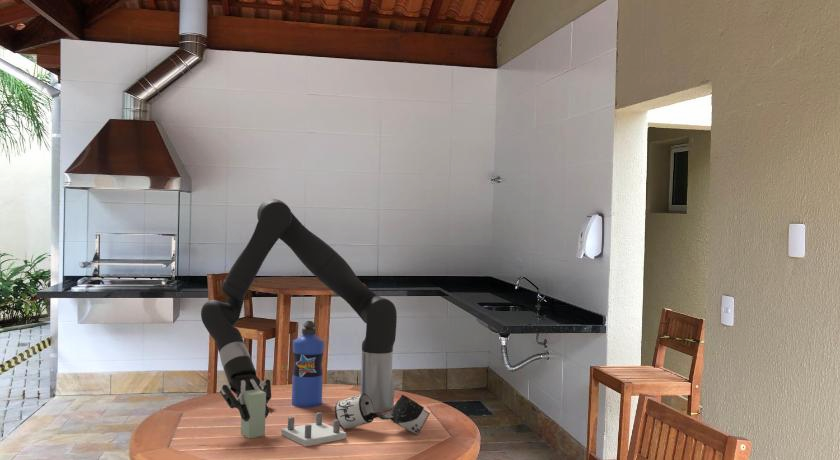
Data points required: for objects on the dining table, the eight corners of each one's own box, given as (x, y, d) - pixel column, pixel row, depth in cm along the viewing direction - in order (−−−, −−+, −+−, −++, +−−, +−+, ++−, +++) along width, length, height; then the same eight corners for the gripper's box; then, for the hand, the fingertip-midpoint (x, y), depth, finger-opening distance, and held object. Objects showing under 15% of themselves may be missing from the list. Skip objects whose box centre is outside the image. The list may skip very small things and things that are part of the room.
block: (256, 431, 192) (257, 389, 192) (264, 435, 188) (266, 392, 188) (240, 433, 189) (241, 391, 189) (248, 438, 185) (249, 394, 185)
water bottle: (319, 408, 217) (322, 323, 217) (288, 407, 217) (291, 322, 217) (324, 400, 226) (326, 319, 226) (294, 399, 227) (296, 318, 226)
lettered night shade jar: (332, 435, 191) (333, 397, 191) (337, 424, 201) (338, 388, 201) (429, 438, 190) (430, 400, 190) (429, 428, 200) (430, 391, 200)
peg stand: (320, 427, 197) (321, 410, 197) (345, 438, 188) (346, 421, 188) (281, 434, 189) (281, 417, 189) (305, 446, 180) (305, 428, 180)
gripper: (216, 357, 190) (235, 414, 180) (266, 352, 199) (287, 406, 190) (207, 374, 194) (225, 430, 185) (256, 368, 203) (276, 422, 194)
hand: (256, 417), depth 187 cm, fingers closed on block, 4 cm apart
